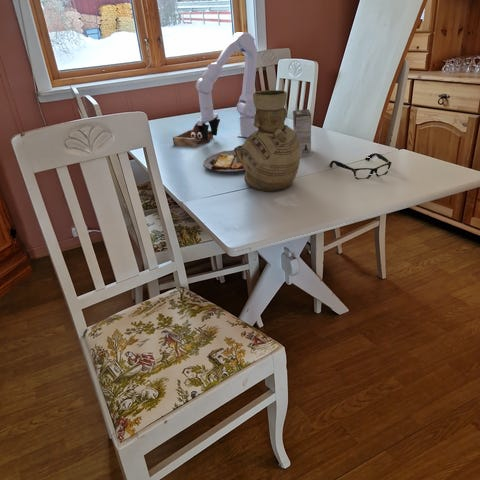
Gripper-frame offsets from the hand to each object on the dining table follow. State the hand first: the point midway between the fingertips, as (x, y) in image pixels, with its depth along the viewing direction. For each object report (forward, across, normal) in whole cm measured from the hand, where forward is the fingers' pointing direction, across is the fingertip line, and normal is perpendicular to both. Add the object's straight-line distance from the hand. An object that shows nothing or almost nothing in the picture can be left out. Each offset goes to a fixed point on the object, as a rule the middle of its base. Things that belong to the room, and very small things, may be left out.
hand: (210, 137), depth 192 cm
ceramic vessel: (+3, +41, +50) cm, 65 cm away
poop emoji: (+3, 0, -6) cm, 7 cm away
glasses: (+3, +18, +74) cm, 76 cm away
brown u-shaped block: (+2, 0, -9) cm, 9 cm away
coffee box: (+3, +5, +47) cm, 47 cm away
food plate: (+3, +25, +27) cm, 37 cm away
